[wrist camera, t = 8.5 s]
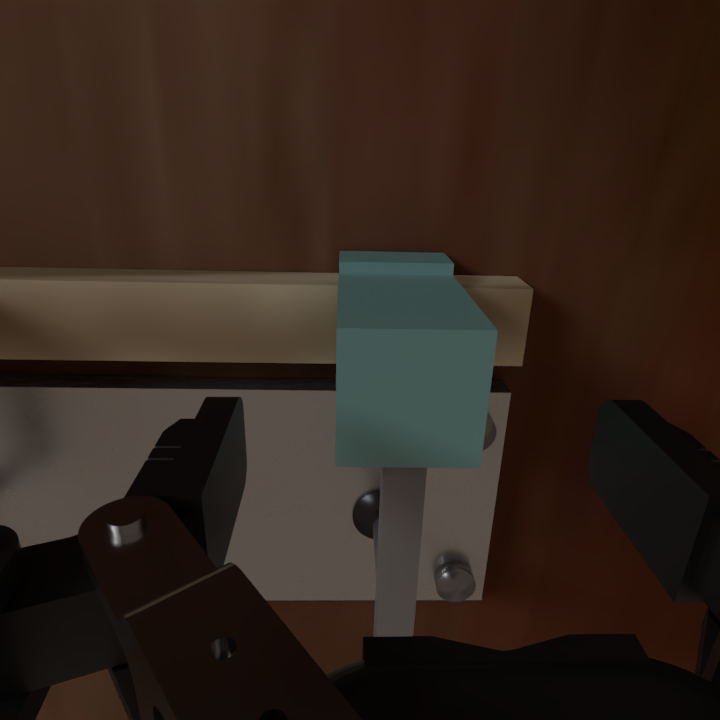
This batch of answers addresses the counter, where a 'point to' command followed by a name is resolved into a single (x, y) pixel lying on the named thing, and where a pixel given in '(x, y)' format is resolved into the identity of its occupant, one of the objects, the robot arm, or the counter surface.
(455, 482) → the bolt plate
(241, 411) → the robot arm
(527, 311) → the rail
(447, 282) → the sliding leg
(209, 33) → the counter surface
